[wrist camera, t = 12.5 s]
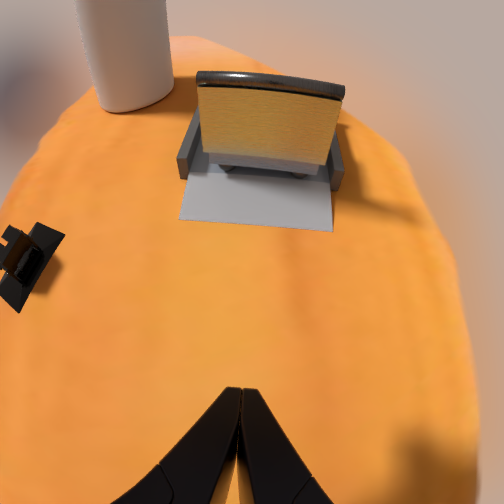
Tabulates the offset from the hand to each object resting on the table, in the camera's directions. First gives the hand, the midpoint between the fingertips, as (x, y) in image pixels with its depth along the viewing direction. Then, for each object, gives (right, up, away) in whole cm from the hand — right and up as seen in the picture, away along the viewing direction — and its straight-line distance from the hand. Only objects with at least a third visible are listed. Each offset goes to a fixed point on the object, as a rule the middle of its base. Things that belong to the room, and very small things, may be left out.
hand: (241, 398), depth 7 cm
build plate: (-23, +2, +16) cm, 28 cm away
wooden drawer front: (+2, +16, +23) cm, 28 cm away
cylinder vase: (-18, +29, +31) cm, 46 cm away
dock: (+1, +14, +24) cm, 28 cm away
